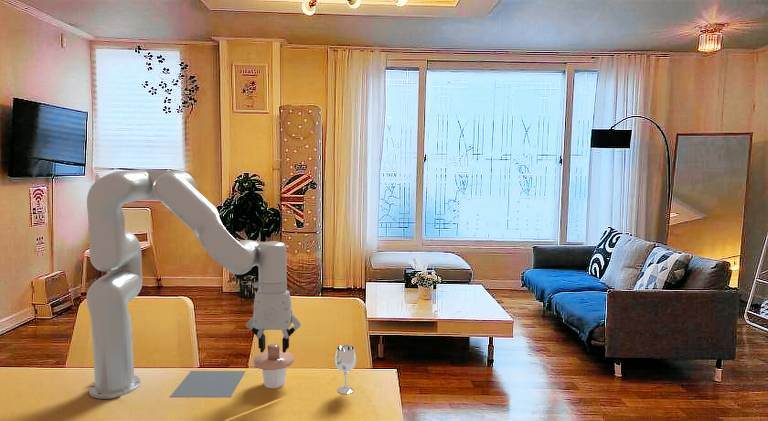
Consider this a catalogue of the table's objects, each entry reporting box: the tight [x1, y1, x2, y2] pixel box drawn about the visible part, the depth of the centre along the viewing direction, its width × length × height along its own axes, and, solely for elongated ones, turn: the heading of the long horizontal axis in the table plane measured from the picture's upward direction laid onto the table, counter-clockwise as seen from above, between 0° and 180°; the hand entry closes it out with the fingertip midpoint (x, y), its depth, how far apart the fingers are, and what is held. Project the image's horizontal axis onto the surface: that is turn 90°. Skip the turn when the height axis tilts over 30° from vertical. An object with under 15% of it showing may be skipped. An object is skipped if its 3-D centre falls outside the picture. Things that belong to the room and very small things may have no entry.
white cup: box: [261, 367, 287, 389], centre depth 145 cm, size 7×7×7 cm
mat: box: [169, 370, 246, 398], centre depth 145 cm, size 16×16×1 cm
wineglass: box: [334, 344, 357, 395], centre depth 142 cm, size 6×6×12 cm
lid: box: [252, 343, 295, 371], centre depth 144 cm, size 11×11×4 cm
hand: (273, 350), depth 144 cm, fingers open, 5 cm apart
